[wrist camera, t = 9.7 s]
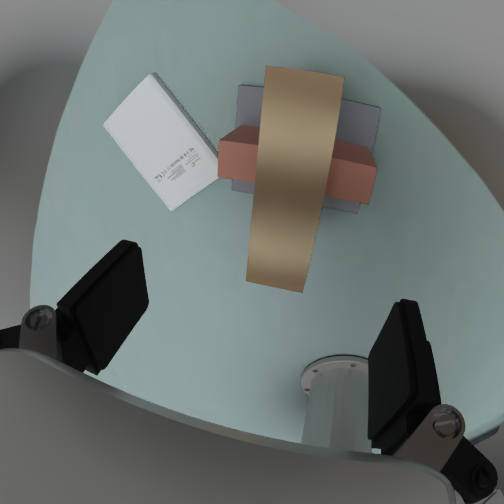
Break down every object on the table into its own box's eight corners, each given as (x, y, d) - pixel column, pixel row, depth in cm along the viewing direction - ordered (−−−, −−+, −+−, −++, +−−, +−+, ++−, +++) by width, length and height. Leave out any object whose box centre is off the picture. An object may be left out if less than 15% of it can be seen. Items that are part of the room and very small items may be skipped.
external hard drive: (158, 72, 25) (231, 167, 30) (110, 122, 29) (176, 206, 34) (149, 73, 24) (226, 173, 28) (101, 125, 28) (169, 213, 32)
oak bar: (307, 260, 24) (302, 292, 21) (258, 250, 25) (245, 281, 22) (341, 76, 16) (344, 77, 13) (277, 66, 17) (265, 65, 14)
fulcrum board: (356, 209, 28) (362, 248, 23) (234, 186, 30) (209, 218, 24) (379, 107, 23) (395, 119, 17) (241, 84, 24) (214, 90, 19)
